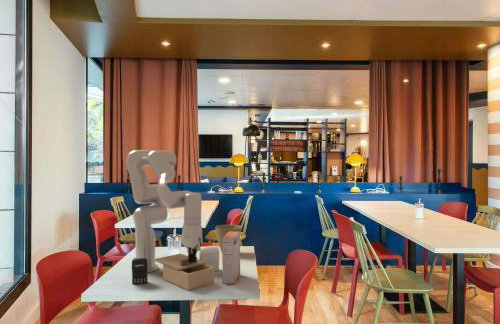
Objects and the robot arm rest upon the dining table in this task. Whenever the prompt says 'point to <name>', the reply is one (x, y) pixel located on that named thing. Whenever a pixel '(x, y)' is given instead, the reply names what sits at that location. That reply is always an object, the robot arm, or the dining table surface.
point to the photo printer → (210, 256)
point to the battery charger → (139, 270)
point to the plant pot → (225, 232)
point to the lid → (178, 261)
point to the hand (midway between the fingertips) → (192, 261)
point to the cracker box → (231, 257)
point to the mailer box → (189, 276)
